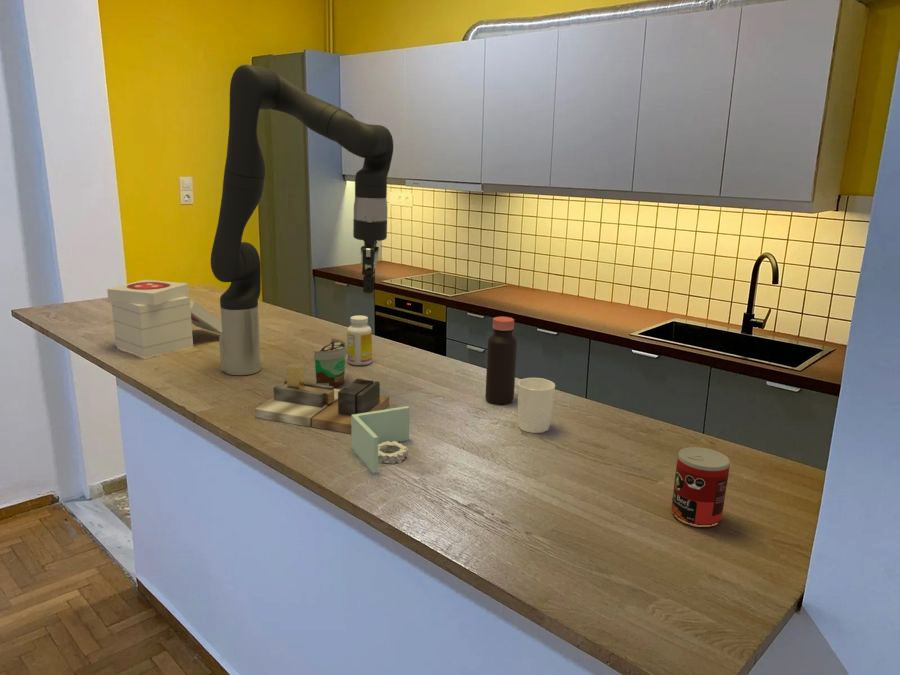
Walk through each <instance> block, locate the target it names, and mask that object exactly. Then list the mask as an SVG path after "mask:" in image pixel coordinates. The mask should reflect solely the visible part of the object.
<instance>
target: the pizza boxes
mask: <svg viewBox="0 0 900 675" xmlns="http://www.w3.org/2000/svg"><path fill="white" fill-rule="evenodd" d="M106 290H107V298H108V301H109V302H110V304H111V312H112V318H113V320H112V321H113V330H114V336H115V337H114V340H115V347H116V346H117V347H119V348H122V349H125V350H127V351H130V352H133V353H135V354H138V355H140V356H143V357H148V356H152V355H156V354H160V353H165V352H170V351H174V350H178V349H182V348H186V347H191V346H193V347H194V341H193V340H194V339H193V326H192V325H194V326H195V327H197V328H199V329H203V330H207V331H210V332H212V333H217V334H220V335H222V322H221V317H220V318H219V317H218V316H217V315H215V314H214V313H213V312H211V311H210V310H208V309H207V308H205V307H204V306H203V305H201V304H200V303H198V302H196V301H194V300H191V299H190V297H189V295H190V286H189V283H186V282H175V281H174V282H173V281H165V280H164V281H162V280H154V279H142V280H137V281H135V282H130V283H126V284H122V285H118V286H114V287H110V288H107V289H106Z"/></svg>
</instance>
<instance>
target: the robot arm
mask: <svg viewBox="0 0 900 675" xmlns="http://www.w3.org/2000/svg"><path fill="white" fill-rule="evenodd" d="M229 83H230V84H229V117H228V118H229V120H228V121H229V122H228V136H227V146H226V147H227V148H226V158H225V165H224V171H223V172H224V173H223V180H222V191H221V192H222V193H221V199H220V206H219V207H220V209H219V214H218V220H217V226H216V230H215V236H214V239H213V244H212V247H211V253H210V268H211V272H212V274H213V276H214V277H215V279H216V280H218V281H219V282H221V283H230V284H229V286H228V288H227V289H226V290H225V291H224V292H223V293H222V294H221V295H220V297H219V307H220V319H221V322H222V334H220V335H219V336H218V342H219V344H218V345H219V357H220V370H221V372H224V373H225V374H228V375H230V376H231V375H232V376H247V375H252V374H256V373H259V372H260V371H261V370H262V363H261V362H262V360H261V359H262V358H261V341H260V340H261V339H260V319H259V317H260V316H259V298H260V296H261V291H262V290H261V289H262V288H261V286H262V285H261V284H262V283H261V280H262V272H261V270H262V269H261V267H262V266H261V259H260V257H261V256H260V254H259V252H258V250H257V248H256V247H255V246H254V245H253V244H252V243H250V242H246V241H242V240H243V236H244V231H245V228H246V226H247V225H248V224H247V223H248V222H249V220H250V219H251V217H252V215H253V214H254V211H255V210H256V208H257V206H258V205H259V203H260V202H261V199H262V196H263V191H264V184H265V178H266V177H265V176H266V164H265V159H264V156H263V152H262V150H261V147H260V143H259V138H258V132H257V131H258V122H259V121H258V120H259V113H260V110H273V111H277V112H282V113H285V114H287V115H289V116H292V117H293V118H296V119H297V120H299V121H300V122H301V123H302V124H303V125H304V126H305V127H307V128H308V129H309V130H311V131H312V132H314V133H317V134H318V135H320V136H322V137H323V138H325V139H328V140H330V141H333V142H335V143H337V144H338V145H339V146H341V147H342V148H344V149H345V150H346V151H348V152H349V153H351V154H352V155H355V156H356V157H359V158H361V159H362V158H363V166H362V168H361V169H360V170H358V171H356V173H355V178H354V203H353V222H352V224H353V231H352V234H353V238H354V239H355V240H357V241H363V242H364V243H363V245H361V247H360V257H361V258H360V266H361V268H362V269H361V270H362V271H361V274H362V277H363V283H362V285H363V286H362V288H363V289H362V290H363V293H364V294H373V293H374V285H375V284H376V268H377V264H378V261H379V252H380V246H377V244H378V242H379V241H380V242H381V241H385V240H387V237H388V234H387V233H388V200H387V196H388V187H387V186H388V184H387V183H388V181H387V180H388V175H389V172H390V168H391V163H392V159H393V154H394V139H393V135H392V133H391V131H390V130H389V129H388V128H387V127H386V126H384V125H380V124H368V123H365V122H363V121H360V120H357V119H356V118H355V117H354V116H353V115H352V114H351V113H350V112H348V111H346V110H344V109H342V108H340V107H338V106H336V105H334V104H331V103H330V102H328V101H325V100H323V99H320V98H319V97H316V96H314V95H312V94H310V93H307V92H306V91H305V90H302V89H301V88H299V87H297V86H296V85H294V84H293V83H292V82H290V81H289V80H287V79H286V78H285V77H283V76H282V75H280V74H279V73H278V72H276V71H274V70H273V69H271V68H269V67H265V66H258V65H255V64H254V65H252V64H241V65H239V66H237V68H235V69H234V72H233V73H232V76H231V79H230V82H229Z"/></svg>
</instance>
